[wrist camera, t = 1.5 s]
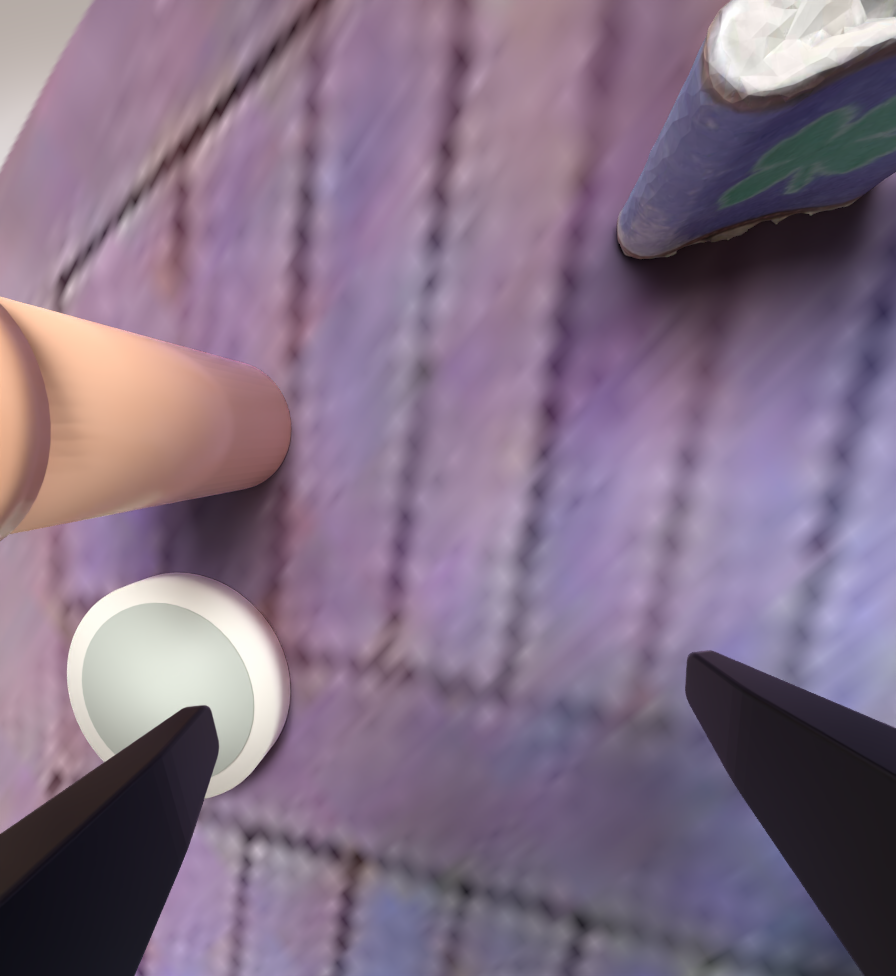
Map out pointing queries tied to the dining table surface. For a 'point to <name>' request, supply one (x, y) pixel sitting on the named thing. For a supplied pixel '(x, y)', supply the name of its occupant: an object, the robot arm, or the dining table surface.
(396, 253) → the dining table surface
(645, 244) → the flask
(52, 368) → the peach domed cylinder
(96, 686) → the round white dish
